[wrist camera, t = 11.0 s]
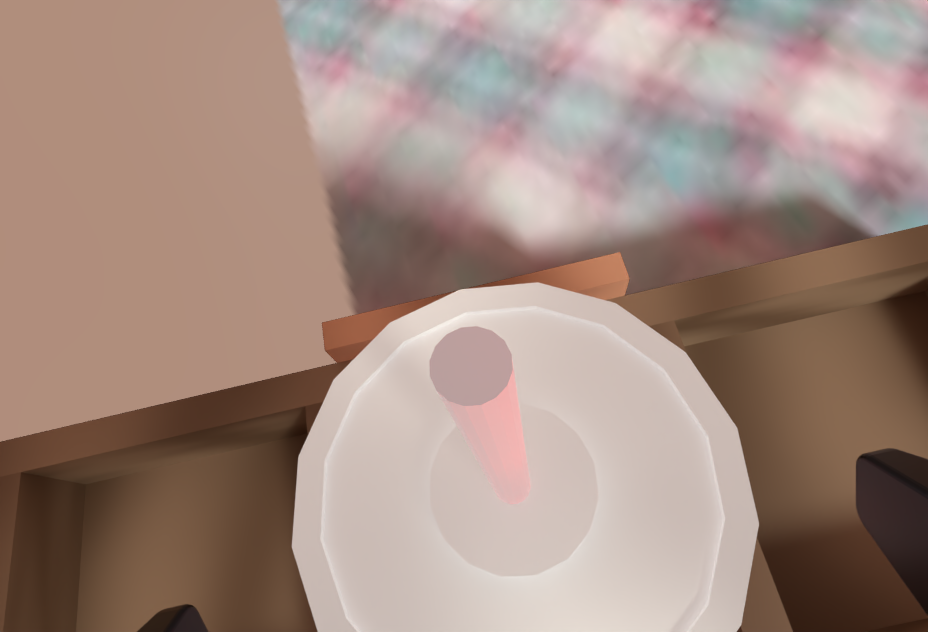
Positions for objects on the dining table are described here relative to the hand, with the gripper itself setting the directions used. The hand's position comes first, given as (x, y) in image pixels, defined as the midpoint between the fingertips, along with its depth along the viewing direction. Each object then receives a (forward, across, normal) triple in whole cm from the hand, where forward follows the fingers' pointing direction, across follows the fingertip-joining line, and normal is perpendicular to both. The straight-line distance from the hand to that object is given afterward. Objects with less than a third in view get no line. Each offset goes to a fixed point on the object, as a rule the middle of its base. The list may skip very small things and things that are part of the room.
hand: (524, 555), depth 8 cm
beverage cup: (+7, 0, +6) cm, 9 cm away
